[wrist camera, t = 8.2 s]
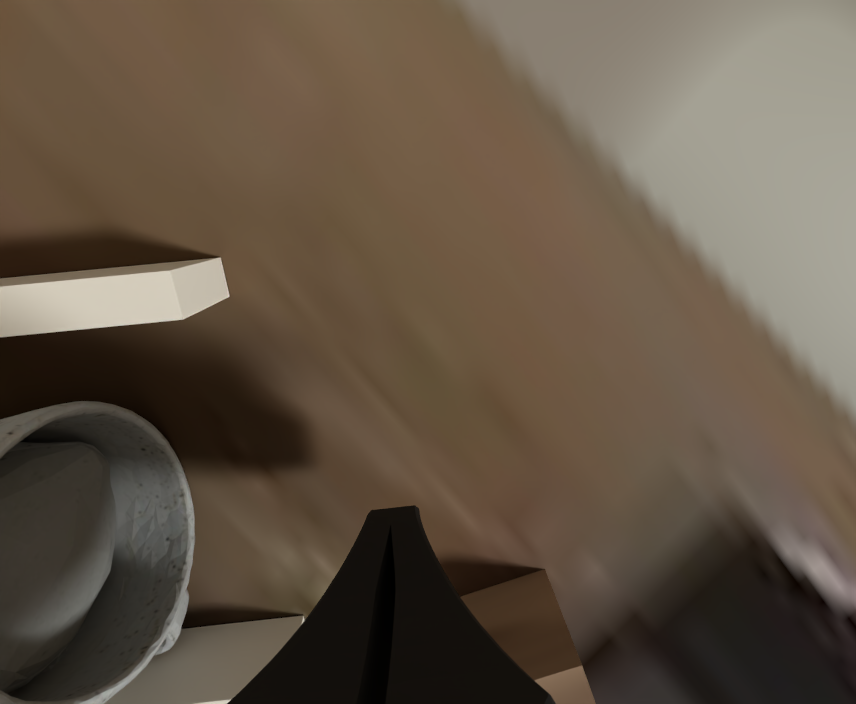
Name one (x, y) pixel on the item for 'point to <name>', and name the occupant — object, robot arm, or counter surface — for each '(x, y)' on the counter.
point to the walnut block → (533, 634)
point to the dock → (136, 304)
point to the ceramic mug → (88, 551)
